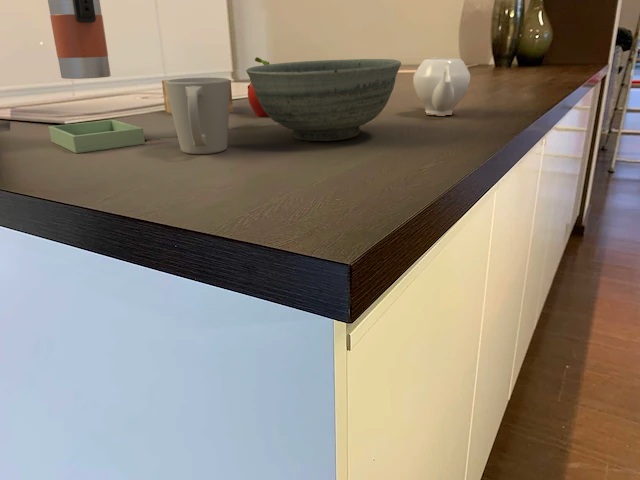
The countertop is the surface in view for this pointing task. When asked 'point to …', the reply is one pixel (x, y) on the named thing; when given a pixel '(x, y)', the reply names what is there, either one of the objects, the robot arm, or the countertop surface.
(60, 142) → the tray
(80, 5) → the robot arm
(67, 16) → the can
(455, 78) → the teapot
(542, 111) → the countertop surface
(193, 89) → the cup
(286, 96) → the bowl
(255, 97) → the red bell pepper
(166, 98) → the holder
